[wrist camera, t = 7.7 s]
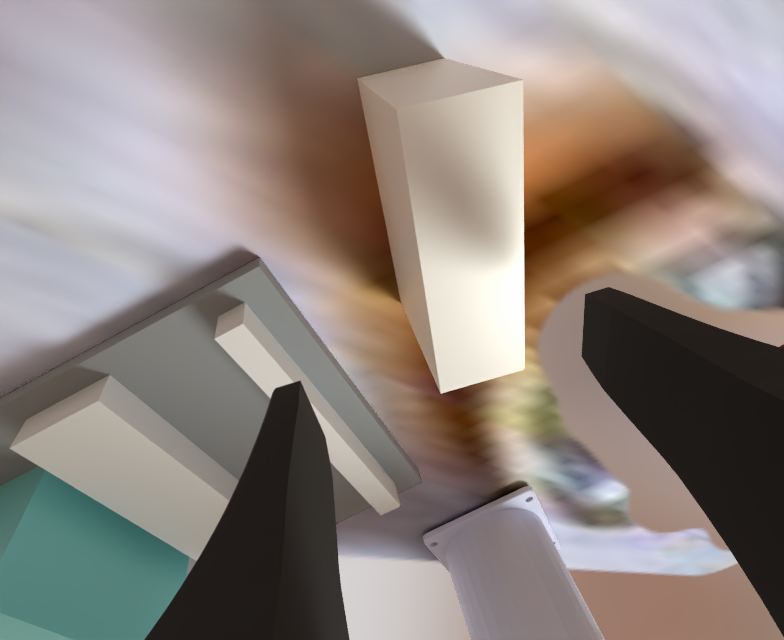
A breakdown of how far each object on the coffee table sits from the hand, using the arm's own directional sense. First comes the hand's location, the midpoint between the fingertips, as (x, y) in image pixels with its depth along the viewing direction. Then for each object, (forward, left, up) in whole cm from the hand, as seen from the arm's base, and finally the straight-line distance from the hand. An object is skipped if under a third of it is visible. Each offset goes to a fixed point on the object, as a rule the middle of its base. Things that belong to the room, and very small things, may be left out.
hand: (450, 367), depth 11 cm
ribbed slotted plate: (-6, +14, -8) cm, 18 cm away
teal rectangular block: (-6, +19, -8) cm, 21 cm away
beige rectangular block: (0, -2, -9) cm, 9 cm away
